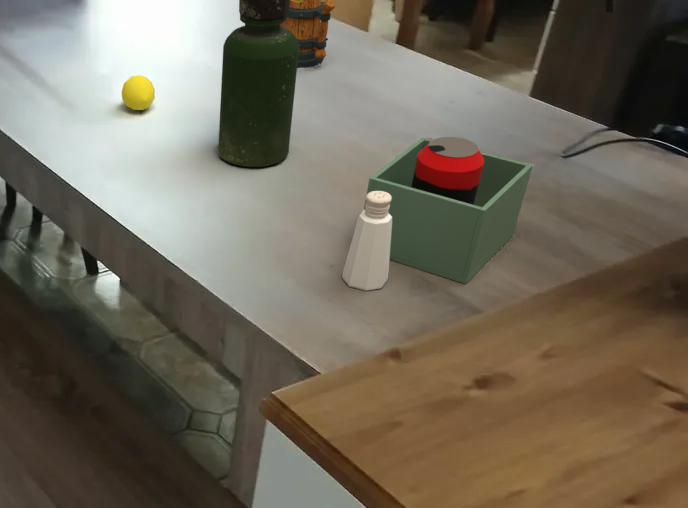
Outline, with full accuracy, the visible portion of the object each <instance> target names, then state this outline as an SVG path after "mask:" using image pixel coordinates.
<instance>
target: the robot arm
mask: <svg viewBox="0 0 688 508" xmlns="http://www.w3.org/2000/svg"><path fill="white" fill-rule="evenodd" d="M619 1H620V0H605V13H611V14H614V11H615V10H616V8H617V5H618V3H619Z"/></svg>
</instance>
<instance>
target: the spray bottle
mask: <svg viewBox="0 0 688 508" xmlns="http://www.w3.org/2000/svg"><path fill="white" fill-rule="evenodd" d="M238 3H239V4H238V12H239V20H240V22H241V23H242V24H244V25H242V26H240V27H237V28H235V29H233V30H232V31H231V33H230V34H229V35H228V36H227V37H226V38H225V40H224V43H223V45H222V46H223V47H222V65H221V67H222V69H221V85H220V90H221V91H220V104H219V125H218V126H219V127H218V145H217V150H218V155H219V157H220V158H221V159H223V160H224V161H226V162H228V164H232V165H236V166H240V167H246V168H261V167H262V168H263V167H270V166H272V165H275V164H279V163H280V162H282V161H283V160H284V159H285V158H286V157H287V156H288V155H289V152H290V151H289V150H290V140H291V131H292V122H293V112H294V102H295V94H296V93H295V91H296V82H297V73H298V68H297V64H298V54H299V45H298V41H297V38H296V37H295V35H294V34H293V33H292V31H290V30H289V29H287V28H285V27H283V26H280V24H281V23H283V22H285V21H286V19H287V14H288V13H289V6H290V0H238Z"/></svg>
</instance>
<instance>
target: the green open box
mask: <svg viewBox="0 0 688 508" xmlns="http://www.w3.org/2000/svg"><path fill="white" fill-rule="evenodd" d="M432 140H433V139H431V138H426V137H423V136H422V137H420V138H419V139H418V140H416V142H414V143H413V144H412V145H411V146H409V147H408V148H406V149H405V150H404V151H402V152H401V153H399V155H397V156H396V157H395V158H394V159H392V160H391V161H389V162H388V163H387V164H386V165H384V166H383V167H381V169H379V170H377V172H376V173H374V174H373V175H372V176H370V177H369V178H368V183H367V184H368V185H367V191H366V195H367V194H368V193H370V192H372V191H384V192H387V193H389V194H390V195H391V197H392V200H391V202H390V208H389V210H388V213H389V214H390V215H391V216H392V232H391V245H390V259H389V261H393V262H396V263H399V264H402V265H406V266H408V267H412V268H414V269H417V270H420V271H424V272H426V273H430V274H433V275H436V276H438V277H439V276H440V277H442V278H445V279H448V280H451V281H455V282H457V283H460V284H464V285H467V284H468V283H469V282H470V281H471V279H473V278H474V277H475V275H477V273H478V272H480V270H481V269H482V268H483V267H484V266H485V265H486V264H487V263H488V262H489V261H490V260H491V259H492V258H493V257H494V256H495V255H496V254H497V253H498V252H499V251H500V249H502V248H503V247H504V246H505V245H506V244H507V242H509V240H510V239H511V238H512V237H514V232H515V229H516V226H517V221H518V219H519V215H520V212H521V209H522V205H523V203H524V202H523V201H524V198H525V194H526V191H527V187H528V184H529V181H530V177H531V174H532V171H533V167H534V164H532V163H527V162H523V161H520V160H515V159H511V158H508V157H504V156H503V157H502V156H499V155H495V154H491V153H487V152H483V151H480V152H481V154H482V156H483V158H484V165H483V169H482V173H481V177H480V181H479V185H478V189H477V193H476V197H475V201H474V205H472V204H469V203H465V202H461V201H458V200H454V199H451V198H447V197H443V196H440V195H436V194H433V193H429V192H425V191H422V190H418V189H415V188H411V186H412V181H413V176H414V171H415V166H416V162H417V157H418V153H419V152H420V151H421V150H422V149H423V148H424V147H425V146H427V145H428V144H429V142H430V141H432ZM366 202H367V201H366V200H365V202H364V206H365V205H366ZM365 209H366V208H365V207H364V208H363V210H365Z"/></svg>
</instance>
